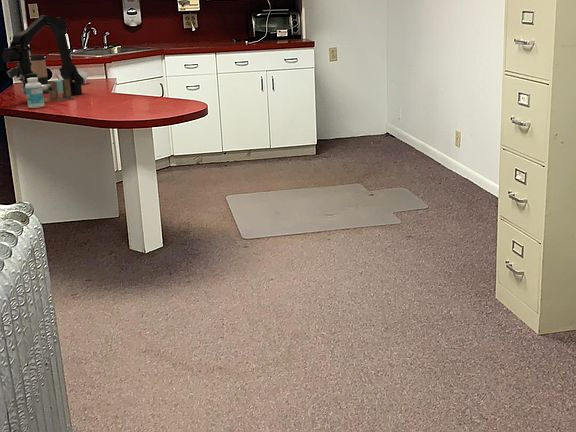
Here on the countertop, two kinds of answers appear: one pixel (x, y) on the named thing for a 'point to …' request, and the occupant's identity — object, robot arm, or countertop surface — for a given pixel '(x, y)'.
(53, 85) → the bearing stand
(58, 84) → the collar
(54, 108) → the countertop surface
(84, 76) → the sculpture
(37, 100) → the pill bottle
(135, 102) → the countertop surface
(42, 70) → the travel mug
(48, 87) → the shaft
